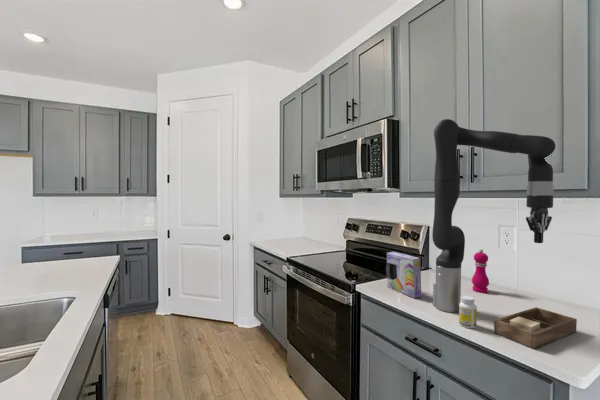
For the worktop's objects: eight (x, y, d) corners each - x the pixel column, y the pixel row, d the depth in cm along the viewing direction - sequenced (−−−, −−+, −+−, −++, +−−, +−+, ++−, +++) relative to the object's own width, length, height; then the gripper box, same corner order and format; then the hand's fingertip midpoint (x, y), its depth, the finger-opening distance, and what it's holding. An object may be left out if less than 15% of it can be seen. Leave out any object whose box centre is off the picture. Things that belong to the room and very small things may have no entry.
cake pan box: (384, 286, 154) (385, 251, 153) (392, 285, 156) (393, 250, 155) (413, 299, 136) (414, 259, 135) (422, 297, 138) (422, 258, 137)
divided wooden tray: (494, 333, 103) (494, 319, 103) (535, 319, 115) (536, 307, 115) (534, 349, 93) (535, 334, 92) (576, 332, 105) (576, 319, 104)
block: (509, 331, 100) (509, 320, 100) (518, 327, 103) (518, 316, 103) (531, 338, 95) (531, 327, 95) (539, 334, 98) (540, 323, 98)
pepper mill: (487, 289, 150) (488, 248, 150) (489, 294, 143) (490, 251, 143) (470, 287, 153) (471, 247, 153) (472, 292, 146) (473, 249, 146)
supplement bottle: (470, 322, 112) (471, 295, 112) (479, 328, 107) (480, 300, 106) (455, 322, 112) (456, 295, 112) (464, 328, 106) (464, 300, 106)
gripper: (537, 194, 117) (536, 240, 117) (517, 194, 111) (516, 242, 111) (561, 194, 110) (560, 243, 111) (542, 194, 104) (540, 245, 104)
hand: (538, 242), depth 111 cm, fingers closed
